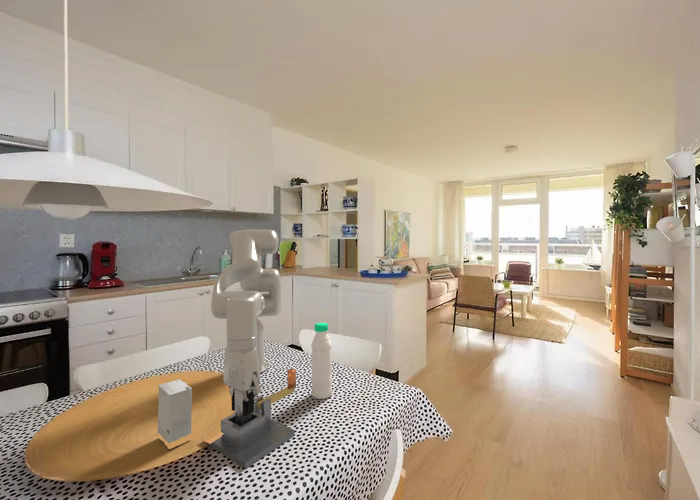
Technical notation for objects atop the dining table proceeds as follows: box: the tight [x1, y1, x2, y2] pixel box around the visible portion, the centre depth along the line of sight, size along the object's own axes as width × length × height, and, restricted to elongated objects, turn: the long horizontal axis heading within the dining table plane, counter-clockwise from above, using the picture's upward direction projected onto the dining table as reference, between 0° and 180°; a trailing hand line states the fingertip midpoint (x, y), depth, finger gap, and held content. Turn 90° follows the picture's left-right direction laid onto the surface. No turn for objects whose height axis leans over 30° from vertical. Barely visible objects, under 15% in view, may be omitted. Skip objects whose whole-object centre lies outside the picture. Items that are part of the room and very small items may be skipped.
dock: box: [209, 395, 295, 470], centre depth 87 cm, size 18×16×9 cm
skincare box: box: [157, 378, 193, 443], centre depth 87 cm, size 8×6×15 cm
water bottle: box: [310, 322, 333, 400], centre depth 111 cm, size 7×7×25 cm
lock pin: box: [257, 368, 297, 410], centre depth 95 cm, size 3×14×7 cm, turn 144°
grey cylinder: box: [233, 388, 251, 427], centre depth 86 cm, size 5×5×12 cm
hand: (242, 410), depth 86 cm, fingers closed on grey cylinder, 4 cm apart
